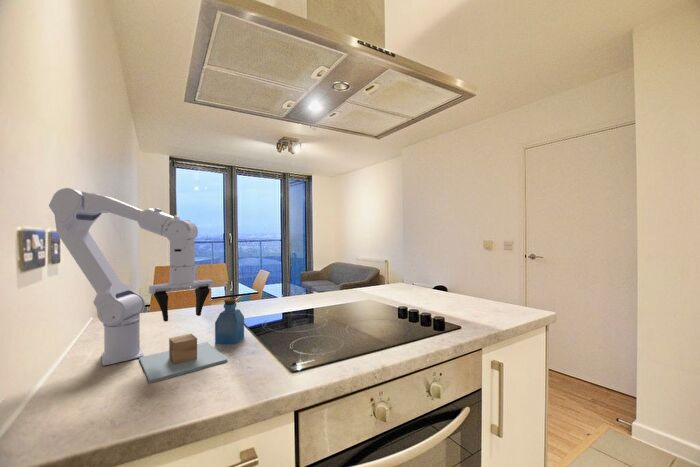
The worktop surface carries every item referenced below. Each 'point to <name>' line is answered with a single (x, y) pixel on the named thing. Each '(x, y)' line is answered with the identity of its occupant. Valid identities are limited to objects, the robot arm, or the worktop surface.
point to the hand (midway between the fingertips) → (182, 317)
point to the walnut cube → (182, 348)
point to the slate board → (164, 368)
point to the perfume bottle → (229, 324)
